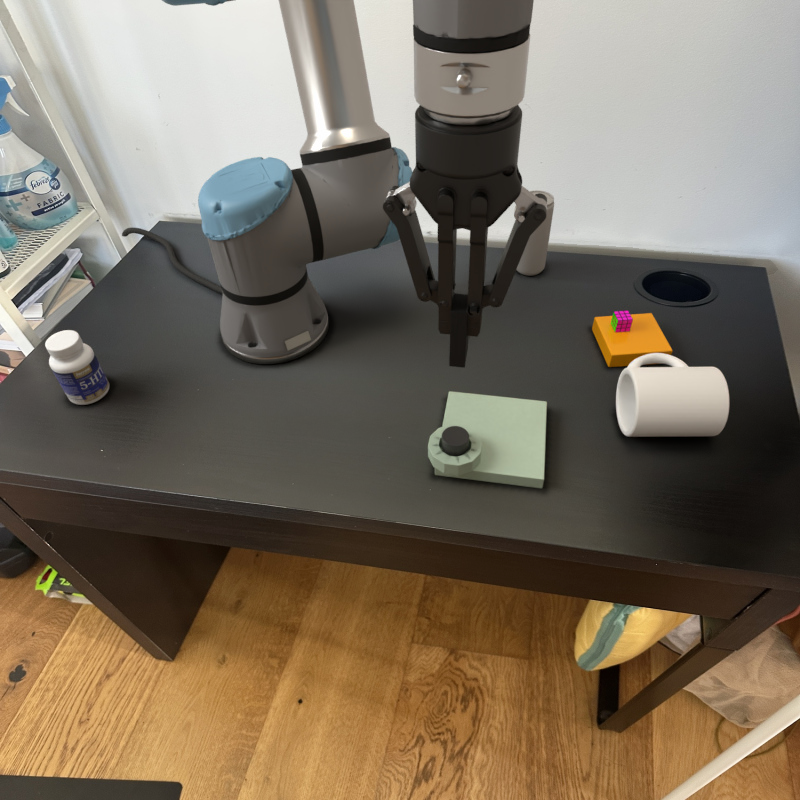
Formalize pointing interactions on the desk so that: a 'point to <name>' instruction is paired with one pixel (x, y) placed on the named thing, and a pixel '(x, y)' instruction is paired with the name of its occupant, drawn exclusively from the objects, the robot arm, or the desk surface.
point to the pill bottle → (76, 368)
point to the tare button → (455, 441)
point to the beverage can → (537, 243)
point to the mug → (671, 398)
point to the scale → (494, 439)
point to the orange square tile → (628, 337)
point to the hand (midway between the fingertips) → (458, 357)
